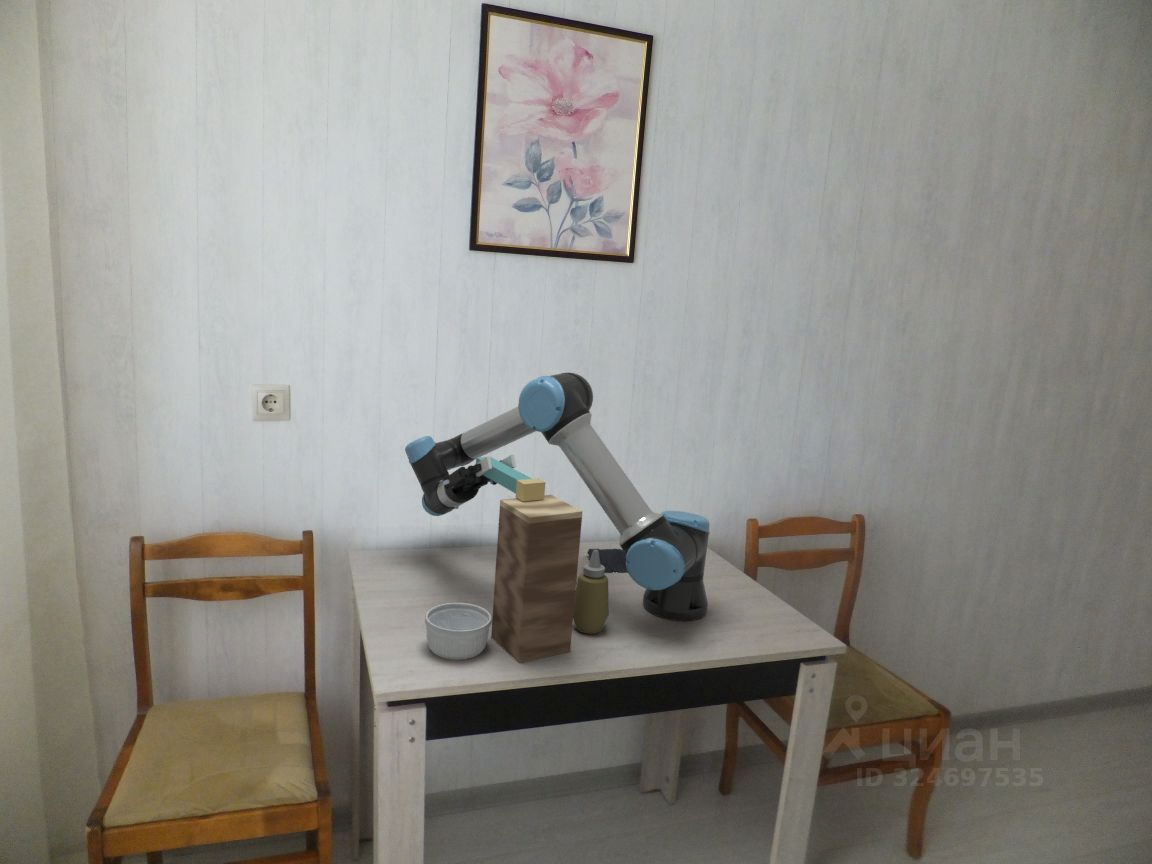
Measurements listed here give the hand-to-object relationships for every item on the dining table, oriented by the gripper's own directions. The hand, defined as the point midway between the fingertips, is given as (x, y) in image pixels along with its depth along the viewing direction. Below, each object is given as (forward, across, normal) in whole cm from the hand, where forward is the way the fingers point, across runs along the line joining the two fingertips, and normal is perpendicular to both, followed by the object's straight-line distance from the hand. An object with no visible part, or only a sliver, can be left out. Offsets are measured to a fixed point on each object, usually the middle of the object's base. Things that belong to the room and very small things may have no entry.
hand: (501, 461), depth 180 cm
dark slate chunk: (-30, -49, -24) cm, 62 cm away
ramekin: (-7, +14, -37) cm, 40 cm away
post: (-2, 0, -39) cm, 39 cm away
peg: (0, 0, -5) cm, 5 cm away
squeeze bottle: (-4, -16, -38) cm, 41 cm away
